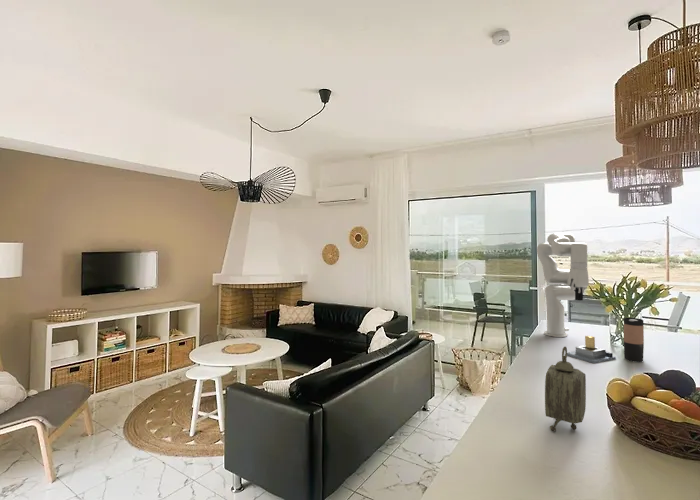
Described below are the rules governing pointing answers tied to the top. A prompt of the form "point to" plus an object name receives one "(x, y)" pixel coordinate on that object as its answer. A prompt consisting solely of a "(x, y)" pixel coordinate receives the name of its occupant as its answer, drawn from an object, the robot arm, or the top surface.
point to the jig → (591, 354)
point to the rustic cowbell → (565, 393)
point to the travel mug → (633, 339)
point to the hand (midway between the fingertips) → (579, 300)
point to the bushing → (590, 342)
